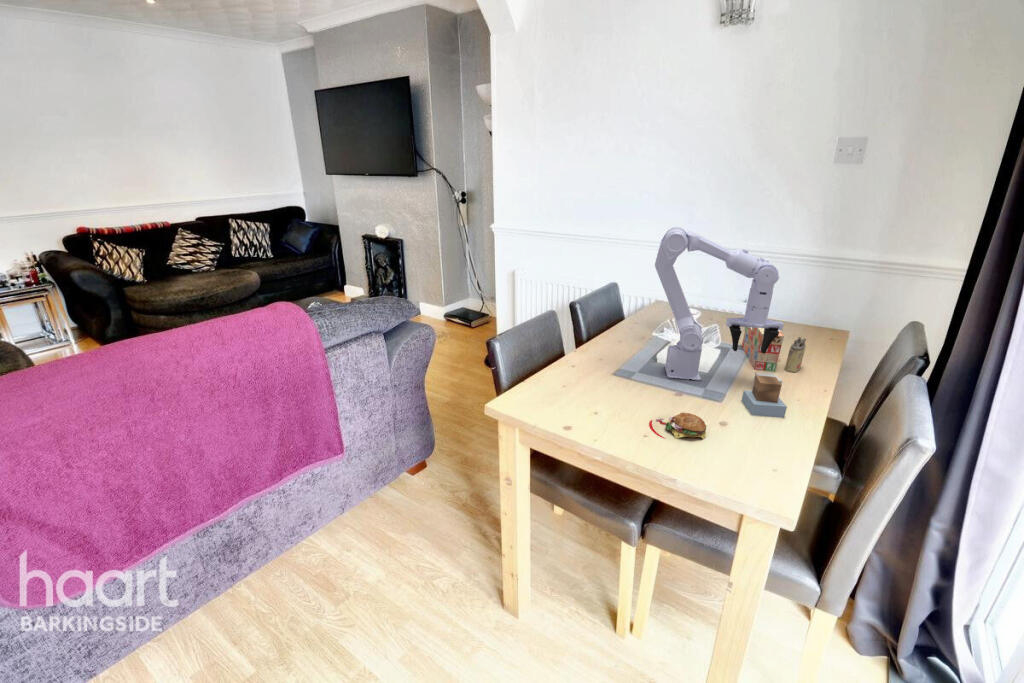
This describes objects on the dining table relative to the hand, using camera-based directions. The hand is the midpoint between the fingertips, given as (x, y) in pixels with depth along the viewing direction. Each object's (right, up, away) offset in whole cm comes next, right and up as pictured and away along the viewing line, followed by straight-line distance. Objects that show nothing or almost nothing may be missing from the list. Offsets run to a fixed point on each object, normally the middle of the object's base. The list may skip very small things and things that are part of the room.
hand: (748, 351), depth 138 cm
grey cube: (+3, -12, -3) cm, 12 cm away
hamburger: (-28, -19, -21) cm, 40 cm away
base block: (-2, -15, -11) cm, 19 cm away
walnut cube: (-2, -12, -12) cm, 17 cm away
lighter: (+21, -6, +14) cm, 25 cm away
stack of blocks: (+13, -3, +21) cm, 25 cm away
